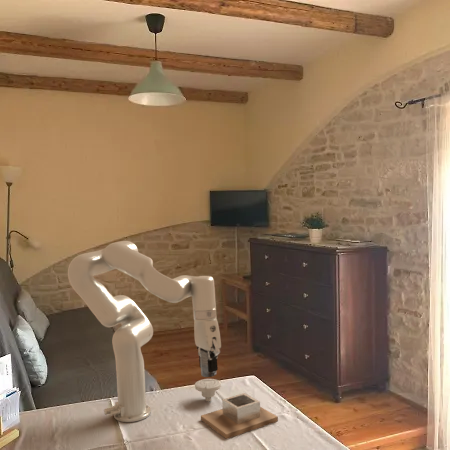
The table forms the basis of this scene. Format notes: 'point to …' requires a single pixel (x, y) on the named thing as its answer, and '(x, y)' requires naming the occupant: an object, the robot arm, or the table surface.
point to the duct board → (238, 416)
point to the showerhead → (208, 387)
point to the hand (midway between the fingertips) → (208, 368)
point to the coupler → (205, 364)
